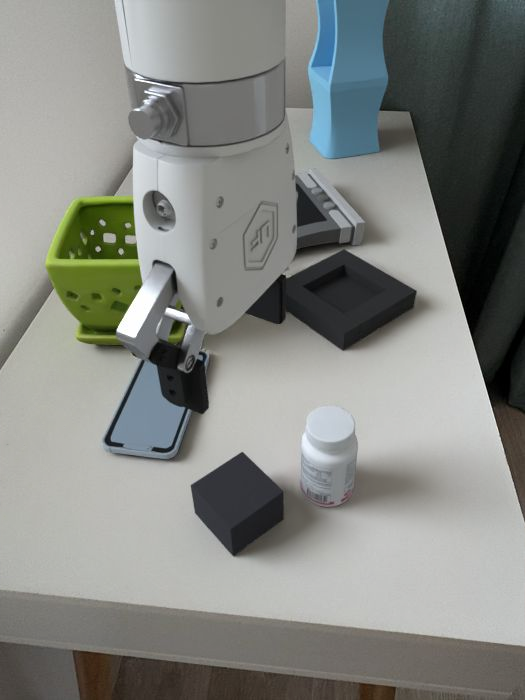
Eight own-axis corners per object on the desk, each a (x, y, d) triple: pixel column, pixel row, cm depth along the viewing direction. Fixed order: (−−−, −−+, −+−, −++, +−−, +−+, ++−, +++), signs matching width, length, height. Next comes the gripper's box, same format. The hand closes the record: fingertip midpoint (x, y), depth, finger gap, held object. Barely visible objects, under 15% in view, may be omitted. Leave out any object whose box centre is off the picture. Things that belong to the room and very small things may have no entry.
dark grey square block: (244, 479, 57) (242, 451, 54) (284, 519, 54) (284, 491, 51) (194, 512, 54) (190, 485, 52) (233, 557, 51) (230, 529, 49)
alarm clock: (364, 222, 84) (248, 235, 79) (359, 252, 87) (247, 267, 82) (316, 168, 96) (213, 177, 92) (313, 196, 99) (213, 206, 95)
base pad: (342, 265, 82) (344, 248, 81) (414, 307, 75) (417, 290, 74) (273, 301, 77) (272, 284, 75) (342, 351, 70) (344, 333, 68)
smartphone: (211, 351, 69) (174, 455, 58) (211, 357, 70) (175, 462, 58) (146, 344, 70) (97, 446, 59) (147, 351, 71) (99, 453, 59)
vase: (306, 137, 113) (310, -21, 96) (356, 130, 115) (369, -27, 98) (326, 160, 106) (335, -7, 89) (380, 151, 108) (398, -13, 91)
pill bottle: (338, 458, 59) (344, 395, 53) (362, 498, 55) (371, 435, 50) (291, 474, 57) (292, 411, 52) (313, 515, 54) (316, 453, 48)
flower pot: (68, 359, 70) (38, 263, 61) (94, 285, 80) (72, 194, 72) (194, 358, 69) (181, 261, 61) (204, 284, 80) (194, 193, 71)
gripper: (163, 188, 24) (201, 471, 35) (352, 57, 35) (334, 304, 46) (20, 149, 26) (98, 421, 38) (236, 39, 38) (246, 276, 49)
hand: (228, 357), depth 42 cm, fingers open, 9 cm apart
